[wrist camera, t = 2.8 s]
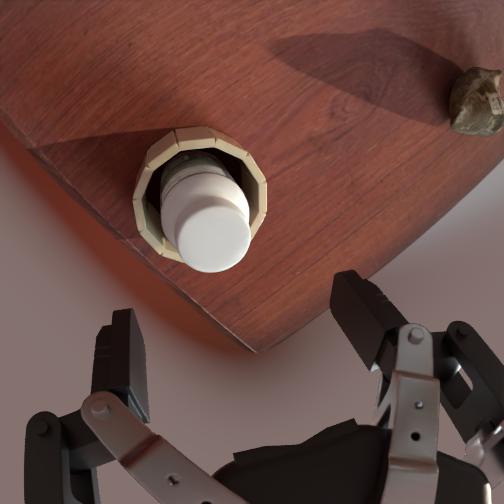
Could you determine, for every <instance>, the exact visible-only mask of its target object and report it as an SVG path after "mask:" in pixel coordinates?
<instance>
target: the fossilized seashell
mask: <svg viewBox="0 0 504 504" xmlns="http://www.w3.org/2000/svg"><path fill="white" fill-rule="evenodd" d="M501 76H502V71H501V70H494V71H492V70H487V69H483V68H480V67H472V68H470V69H468V70H467V72H466V73H464V74H462V75H461V76H460V77H459V78H458V79H457V80H456V81H455V83H454V85H453V88H452V91H451V94H450V101H449V111H450V126H451V128H452V130H453V131H456V132H459V133H465V134H470V135H478V136H485V137H490V136H493V135H494V134H496V133H497V132H499V131H500V130H501V128H503V126H504V102H503V100H502V98H501V97H500V88H499V77H501Z"/></svg>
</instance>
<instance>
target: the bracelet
mask: <svg viewBox="0 0 504 504" xmlns="http://www.w3.org/2000/svg"><path fill="white" fill-rule="evenodd" d="M209 147H215V148H217V149H219V150H222V151H224V152H226V153H228V154H231V155H233V156H235V157H236V158H237V159H238V161H239V162H240V164H241V185H242V188H241V190H242V192H243V193H244V195H245V198H246V200H247V203H248V207H249V222H248V224H249V227H250V232H251V239H250V240H252V239H253V237H254V235H255V233H256V231H257V230H258V228H259V226H260V224H261V223H262V221H263V219H264V217H265V216H266V214H265V212H267V182H266V179H265V177H264V176H263V174H262V172H261V171H260V169H259V168H258V166H257V165H256V163H255V161H254V160H253V158H252V157H251V155H250V154H249V153H248V152H247V151H246V150H245V149H243V148H242V147H241V146H240V145H239V144H238V143H237V142H236V141H235V140H233V139H232V138H231V137H229V136H227V135H225V134H222V133H220V132H218V131H216V130H214V129H211V128H209V127H206V128H205V127H204V126H199V127H190V128H181V129H175V132H174V131H171V132H170V133H168V134H167V135H166V136H164V137H163V138H162V139H160V140H159V141H157V142H156V143H155V144H154V145H152V146H151V147H150V149H149V150H148V151H147V153H146V155H145V158H144V160H143V162H142V165H141V167H140V169H139V172H138V174H137V179H136V184H135V189H134V193H133V200H132V202H133V207H134V213H135V218H136V223H137V228H138V231H139V233H140V234H141V235H142V236H143V238H144V239H145V240H146V241H147V242H148V243H149V244H150V245H151V246H152V247H153V248H154V249H155V250H156V251H157V252H158V253H159V254H161V253H162V256H164V257H167V258H170V259H174V260H177V261H180V262H183V263H185V262H184V261H183V259H182V258H181V257H180V255H179V253H178V250H177V249H176V248H175V247H174V246H173V245H172V244H171V243H170V242H169V241H168V239H167V237H166V236H165V234H164V231H163V228H162V223H161V215H160V214H159V213H158V212H157V210H156V209H155V208H154V207H153V206H152V205H151V203H150V202H149V201H148V196H147V190H146V188H147V185H148V183H149V180H150V178H151V176H152V173H153V171H154V170H155V169H157V168H158V167H159V166H161V165H162V164H163V163H165V162H166V161H167V160H169V159H170V158H171V157H173V156H174V155H175V154H177V153H178V152H180V151H184V150H192V149H200V148H209Z"/></svg>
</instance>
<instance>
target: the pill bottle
mask: <svg viewBox="0 0 504 504" xmlns="http://www.w3.org/2000/svg"><path fill="white" fill-rule="evenodd" d="M160 200H161V203H160V205H161V223H162V228H163V231H164V234H165V236H166V237H167V239H168V241H169V242H170V243H171V244H172V245H173V246H174V247H175V248H176V249H177V250H178V253H179V255H180V257H181V258H182V259H183V261H184V262H185V263H186V264H187V265H189V266H190V267H192V268H194V269H196V270H198V271H202V272H219V271H223V270H225V269H228V268H230V267H232V266H233V265H235V264H236V263H238V262H239V261H240V260H241V259H242V258H243V256H244V255H245V253H246V252H247V250H248V247H249V244H250V239H251V232H250V227H249V224H248V222H249V207H248V203H247V200H246V198H245V195H244V193H243V192H242V190H241V189H240V187H239V186H238V185H237V184H236V182H235V181H234V179H233V178H232V177H231V175H230V174H229V172H228V171H227V169H226V168H225V166H224V165H223V164H222V163H221V161H220V160H219V159H217V158H216V157H215V156H213V155H212V154H210V153H207V152H203V151H188V152H184V153H182V154H179V155H178V156H176V157H175V158H173V159H172V160H171V161H170V162H169V163H168V164H167V166H166V167H165V169H164V171H163V173H162V176H161V181H160Z"/></svg>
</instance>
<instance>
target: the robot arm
mask: <svg viewBox="0 0 504 504" xmlns="http://www.w3.org/2000/svg"><path fill="white" fill-rule="evenodd" d="M330 309H331V313H332V315H333V317H334V318H335V320H336V321H337V323H338V324H339V326H340V327H341V329H342V330H343V332H344V333H345V335H346V336H347V338H348V339H349V341H350V342H351V344H352V345H353V347H354V349H355V350H356V352H357V353H358V355H359V356H360V358H361V359H362V361H363V362H364V364H365V365H366V367H367V368H368V370H369V372H371V371H373V370H376V369H379V368H380V370H381V371H382V373H381V375H380V380H379V386H378V392H377V398H376V404H375V409H374V414H373V417H372V420H371V422H370V425H357V423H356V421H355V419H354V418H353V419H350V420H348V421H345V422H342V423H339V424H336V425H333V426H331V427H328V428H326V429H324V430H323V431H321V432H319V433H318V434H316V435H314V436H313V437H311V438H309V439H308V440H306V441H304V442H303V443H301V444H297V445H284V446H283V445H281V446H263V447H259V448H255V449H250V450H246V451H241V452H237V453H233V456H234V461H232V462H230V463H228V464H226V465H224V466H223V467H221V468H220V469H219V470H217V471H216V472H215V473H214V474H213V475H212V476H209V474H207V473H206V472H205V471H203V470H202V469H201V468H199V467H198V466H197V465H196V464H194V463H193V462H192V461H191V460H189V459H188V458H187V457H186V456H184V455H183V454H182V453H181V452H179V451H178V450H177V449H176V448H175V447H173V446H172V445H171V444H170V443H169V442H168V441H167V440H165V439H164V438H163V437H162V436H160V435H156V434H155V433H153V432H152V431H151V430H150V429H149V428H148V427H147V426H146V425H145V423H150V417H149V405H148V392H147V377H146V376H147V375H146V353H145V345H144V340H143V336H142V334H141V331H140V328H139V325H138V322H137V319H136V316H135V313H134V310H133V309H132V308H129V309H122V310H116V311H113V316H112V325H107V326H103V327H102V328H101V330H100V331H99V333H98V335H97V336H96V345H95V354H94V358H95V359H94V363H93V373H92V385H91V394H90V395H89V396H88V397H87V398H86V399H85V400H84V402H83V404H82V407H81V409H79V410H77V411H75V412H73V413H70V414H68V415H65V416H62V417H59V418H58V417H57V416H56V415H55V414H53V413H51V412H47V411H44V412H39V413H37V414H35V415H34V416H33V417H32V418H31V419H30V420H29V422H28V424H27V427H26V438H25V455H24V500H25V504H101V502H100V495H99V488H98V479H97V470H96V467H97V466H100V465H103V464H106V463H108V462H111V461H113V460H116V459H117V460H118V461H119V463H120V464H121V465H122V466H123V467H124V469H125V470H126V471H127V472H128V473H129V474H130V475H131V476H132V477H133V478H134V479H135V480H136V481H137V482H138V483H139V484H140V485H141V486H142V487H143V488H144V489H145V490H146V491H147V492H148V493H149V494H151V495H152V496H153V497H154V498H155V499H156V500H157V501H158V502H159V503H160V504H491V490H492V489H493V488H495V487H496V486H497V485H498V484H500V483H501V482H502V481H503V480H504V365H503V364H502V363H501V362H500V360H499V359H498V358H497V356H496V355H495V354H494V353H493V351H492V350H491V349H490V348H489V346H488V345H487V344H486V343H485V342H484V340H483V339H482V338H481V337H480V336H479V334H478V333H477V332H476V331H475V330H474V329H473V327H471V326H470V325H469V324H467V323H465V322H463V321H454V322H452V323H450V324H449V326H448V328H447V330H446V331H444V332H430V331H429V330H428V329H426V328H425V327H424V326H422V325H420V324H416V323H409V322H408V321H407V320H406V319H405V318H404V316H403V315H402V314H401V313H400V312H399V311H398V310H397V308H396V307H395V306H394V305H393V304H392V303H391V301H389V300H388V298H387V297H386V296H385V295H383V292H382V291H381V290H380V289H379V288H378V287H377V286H376V285H375V284H373V283H372V282H370V281H368V280H367V279H362V278H361V277H360V276H359V275H358V274H357V272H356V271H355V270H348V271H343V272H338V273H336V274H335V275H334V279H333V286H332V292H331V298H330ZM460 367H462V368H463V370H464V371H465V373H466V374H467V375H468V377H469V378H470V380H471V381H472V384H473V390H471V389H470V388H469V386H468V385H467V383H466V382H465V380H464V379H463V377H462V376H461V375H460V373H459V372H458V370H459V368H460ZM440 403H441V404H442V406H443V407H444V409H445V411H446V412H447V414H448V415H449V417H450V419H451V420H452V422H453V424H454V425H455V427H456V429H457V430H458V432H459V434H460V435H461V437H462V439H463V441H464V442H465V444H466V448H465V453H466V455H465V456H464V461H463V460H460V459H458V458H455V457H452V456H450V455H447V454H445V453H442V452H440V451H437V443H438V430H439V409H440V408H439V407H440Z"/></svg>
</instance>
